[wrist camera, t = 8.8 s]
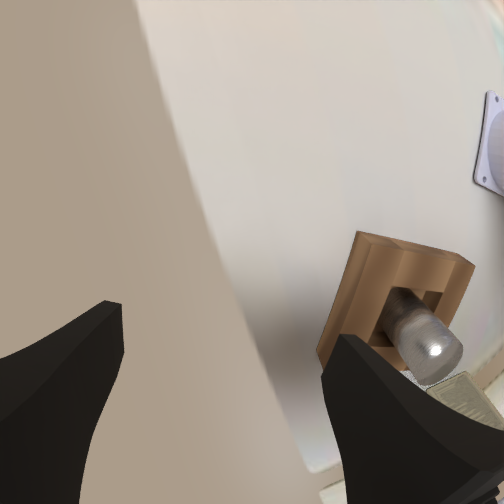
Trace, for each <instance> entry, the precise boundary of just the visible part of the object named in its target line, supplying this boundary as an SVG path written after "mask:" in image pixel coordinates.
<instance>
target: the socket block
mask: <svg viewBox="0 0 504 504" xmlns="http://www.w3.org/2000/svg"><path fill="white" fill-rule="evenodd" d="M474 269H475V265H474V264H472V263H471V262H469V261H468V260H466V259H465V258H463V257H462V256H460V255H459V254H457V253H453V252H449V251H445V250H441V249H437V248H433V247H428V246H424V245H420V244H415V243H411V242H407V241H402V240H398V239H393V238H389V237H384V236H380V235H375V234H370V233H365V232H361V231H357V232H356V236H355V239H354V243H353V246H352V249H351V252H350V256H349V259H348V262H347V265H346V268H345V271H344V275H343V278H342V281H341V284H340V287H339V290H338V292H337V295H336V298H335V301H334V304H333V307H332V310H331V312H330V315H329V318H328V321H327V323H326V326H325V329H324V331H323V334H322V337H321V339H320V342H319V344H318V347H317V349H316V350H317V353H318V356H319V359H320V362H321V365H322V368H323V371H324V369H325V366H326V364H327V362H328V360H329V357H330V355H331V353H332V350H333V348H334V346H335V343H336V341H337V338H338V336H339V334H354V335H356V336H358V337H359V338H360V339H362V340H363V341H364V342H365V343H367V344H368V345H369V346H370V347H371V348H373V349H374V350H375V351H376V352H377V353H378V354H379V355H381V356H382V357H383V358H384V359H385V360H386V361H387V362H389V363H390V364H391V365H392V366H393V367H394V368H395V369H397V370H398V371H405V370H410V369H409V368H408V366H407V365H406V363H405V362H404V360H403V359H402V357H401V355H400V354H399V352H398V351H397V349H396V348H395V346H394V345H393V343H392V342H391V340H390V339H389V337H388V336H387V334H386V333H385V332H384V330H383V329H382V327H381V326H380V324H379V323H378V321H377V320H378V318H379V316H380V313H381V311H382V309H383V306H384V304H385V301H386V299H387V296H388V294H389V291H390V290H391V289H392V288H395V287H404V288H410V289H411V290H412V291H413V292H414V293H415V294H416V295H417V296H418V297H419V298H420V299H421V300H422V301H423V302H424V303H425V304H426V306H427V307H428V308H429V309H430V310H431V311H432V312H433V313H434V314H435V315H436V316H437V317H438V318H439V319H440V320H441V321H442V322H443V324H444V325H445V326H446V327H447V328H448V327H449V325H450V323H451V321H452V319H453V317H454V315H455V313H456V311H457V309H458V306H459V304H460V302H461V300H462V298H463V295H464V293H465V291H466V289H467V286H468V284H469V281H470V279H471V277H472V274H473V272H474Z"/></svg>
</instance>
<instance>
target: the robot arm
mask: <svg viewBox="0 0 504 504" xmlns="http://www.w3.org/2000/svg"><path fill="white" fill-rule="evenodd" d="M495 99H496V100H495ZM474 179H475V182H476V183H478V184H480V185H482V186H484V187H486V188H488V189H490V190H492V191H494V192H496V193H498V194H499V195H501V196H503V197H504V99H503V98H501V97H500V96H499V95H498V94H496V93H495V92H494V91H488V92H487V99H486V109H485V117H484V125H483V132H482V138H481V144H480V150H479V155H478V160H477V165H476V170H475V175H474ZM123 355H124V342H123V325H122V304H119V303H115V302H110V301H106V300H104V301H103V302H101V303H99V304H97V305H96V306H94V307H93V308H91V309H90V310H88V311H87V312H85V313H83V314H82V315H80V316H79V317H77V318H76V319H74V320H72V321H71V322H69V323H68V324H66V325H65V326H63V327H62V328H60V329H58V330H56V331H55V332H53V333H51V334H50V335H48V336H46V337H44V338H43V339H41V340H39V341H37V342H36V343H34V344H32V345H30V346H28V347H26V348H24V349H22V350H20V351H17V352H15V353H13V354H11V355H9V356H6V357H4V358H1V359H0V504H79V499H80V491H81V484H82V478H83V473H84V468H85V463H86V459H87V454H88V451H89V446H90V442H91V439H92V436H93V432H94V430H95V427H96V425H97V422H98V420H99V417H100V415H101V413H102V410H103V408H104V406H105V403H106V401H107V399H108V396H109V394H110V392H111V389H112V387H113V385H114V382H115V380H116V378H117V375H118V372H119V368H120V364H121V362H122V358H123ZM321 381H322V388H323V394H324V401H325V404H326V408H327V411H328V415H329V418H330V421H331V425H332V428H333V431H334V435H335V438H336V441H337V445H338V448H339V451H340V455H341V460H342V464H343V471H344V478H345V485H346V495H347V504H504V497H503V498H502V499H501V500H499V501H498V502H497V500H496V498H495V497H496V496H497V495H498V494H499V493H500V491H499V489H498V487H497V486H498V485H499V484H500V483H501V482H502V481H504V431H503V430H500V429H496V428H493V427H490V426H488V425H485V424H482V423H480V422H478V421H475V420H473V419H471V418H469V417H466V416H465V415H463V414H461V413H459V412H457V411H455V410H453V409H451V408H449V407H448V406H446V405H444V404H443V403H441V402H440V401H438V400H436V399H435V398H433V397H432V396H430V395H429V394H427V393H426V392H425V391H423V390H422V389H420V388H419V387H418V386H417V385H415V384H414V383H413V382H411V381H410V380H409V379H408V378H406V377H405V376H404V375H403V374H401V373H400V372H399V371H398V370H397V369H395V368H394V367H393V366H392V365H391V364H390V363H389V362H387V361H386V360H385V359H384V358H383V357H382V356H381V355H379V354H378V353H377V352H376V351H375V350H374V349H373V348H371V347H370V346H369V345H368V344H367V343H365V342H364V341H363V340H362V339H360V338H359V337H358V336H356V335H354V334H339V336H338V338H337V341H336V343H335V346H334V348H333V350H332V353H331V355H330V357H329V360H328V362H327V364H326V366H325V369H324V371H323V373H322V375H321Z"/></svg>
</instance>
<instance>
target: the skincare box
mask: <svg viewBox="0 0 504 504" xmlns="http://www.w3.org/2000/svg"><path fill="white" fill-rule="evenodd" d="M426 393H427V394H429V395H430V396H432V397H433V398H435V399H436V400H438V401H440V402H441V403H443V404H444V405H446V406H448V407H449V408H451V409H453V410H455V411H457V412H459V413H461V414H463V415H465V416H466V417H469V418H471V419H473V420H475V421H478V422H480V423H482V424H485V425H488V426H490V427H493V428H496V429H500V430H503V431H504V418H503V417H502V416H501V414H500V413H499V412H498V410H497V409H496V408H495V406H494V405H493V404H492V403H491V401H490V400H489V399H488V397H487V396H486V395H485V393H484V392H483V391H482V390H481V388H480V387H479V386H478V385H477V384H476V382H475V381H474V380H473V378H472V377H471V376H470V375H469V374H468V372H467V371H465V372H463V373H461V374H459V375H457V376H455V377H453V378H450V379H448V380H446V381H444V382H442V383H440V384H437V385H436V386H434V387H431V388H429V389H427V392H426Z"/></svg>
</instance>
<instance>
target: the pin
mask: <svg viewBox="0 0 504 504" xmlns="http://www.w3.org/2000/svg"><path fill="white" fill-rule="evenodd" d="M377 321H378V323H379V324H380V326H381V327H382V329H383V330H384V332H385V333H386V334H387V336H388V337H389V339H390V340H391V342H392V343H393V345H394V346H395V348H396V349H397V351H398V352H399V354H400V355H401V357H402V359H403V360H404V362H405V363H406V365H407V366H408V368H409V369H410V371H411V372H412V374H413V376H414V377H415V379H416V380H417V382H418V383H419V384H420V385H424V386H425V385H432V384H434V383H437V382H439V381H440V380H442V379H443V378H445V377H446V376H447V375H448V374H449V373H451V372H452V370H453V369H454V368H455V367H456V366H457V364H458V363H459V361H460V359H461V356H462V353H463V345H462V343H461V342H460V341H459V340H458V339H457V338H456V337H455V336H454V334H453V333H452V332H451V331H450V330H449V329H448V328H447V327H446V326H445V325H444V324H443V322H442V321H441V320H440V319H439V318H438V317H437V316H436V315H435V314H434V313H433V312H432V311H431V310H430V309H429V308H428V307H427V306H426V304H425V303H424V302H423V301H422V300H421V299H420V298H419V297H418V296H417V295H416V294H415V293H414V292H413V291H412V290H411V289H410V288H404V287H395V288H392V289H391V290H390V291H389V294H388V296H387V299H386V301H385V304H384V306H383V309H382V311H381V313H380V316H379V318H378V320H377Z"/></svg>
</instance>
